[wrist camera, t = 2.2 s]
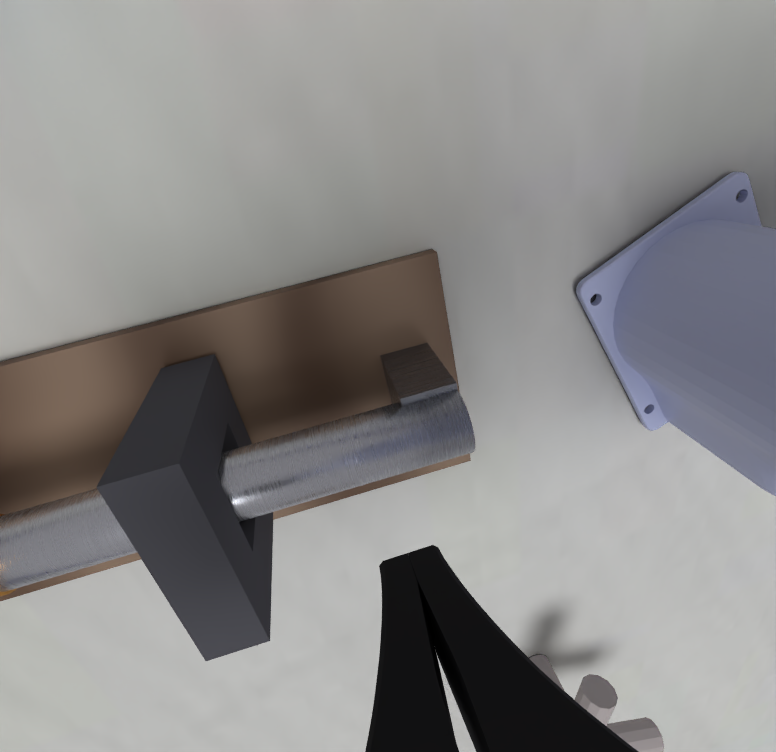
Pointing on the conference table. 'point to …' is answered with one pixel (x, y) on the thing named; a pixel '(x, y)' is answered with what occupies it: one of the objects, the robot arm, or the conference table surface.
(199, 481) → the rubber collar
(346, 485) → the steel pipe
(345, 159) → the conference table surface
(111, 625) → the conference table surface
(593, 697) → the pipe connector
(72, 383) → the walnut board
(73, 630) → the conference table surface
